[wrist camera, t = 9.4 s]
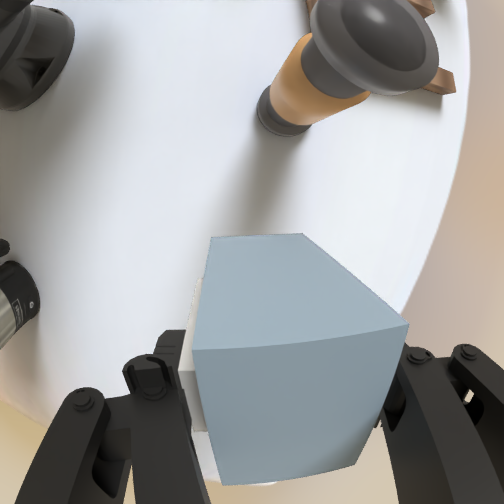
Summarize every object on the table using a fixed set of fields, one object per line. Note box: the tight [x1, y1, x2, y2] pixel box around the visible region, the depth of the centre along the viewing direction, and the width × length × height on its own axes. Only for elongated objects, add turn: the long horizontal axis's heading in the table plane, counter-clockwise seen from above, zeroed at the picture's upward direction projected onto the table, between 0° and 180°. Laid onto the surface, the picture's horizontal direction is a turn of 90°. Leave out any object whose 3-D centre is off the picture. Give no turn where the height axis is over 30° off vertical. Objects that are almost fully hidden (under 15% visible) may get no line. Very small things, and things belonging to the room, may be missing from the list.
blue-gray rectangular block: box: [192, 233, 409, 485], centre depth 10 cm, size 4×6×9 cm
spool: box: [257, 0, 439, 136], centre depth 17 cm, size 6×6×20 cm
